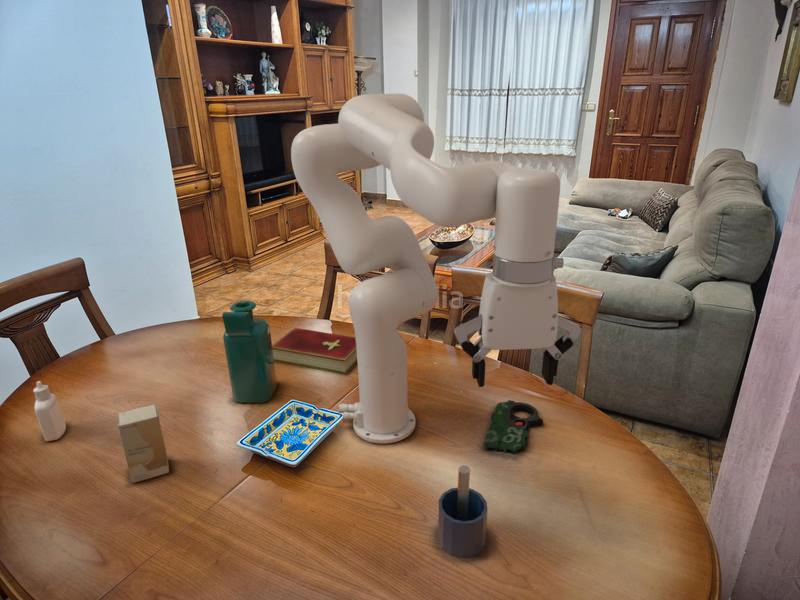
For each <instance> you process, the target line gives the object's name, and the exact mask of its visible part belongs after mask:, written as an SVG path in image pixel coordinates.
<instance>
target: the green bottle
mask: <svg viewBox="0 0 800 600" xmlns="http://www.w3.org/2000/svg"><path fill="white" fill-rule="evenodd" d="M256 307H257V303H256V302H255V301H251V300H241V301H236V302H234V303H232V304H231V305H230V306H229V310H230V311H224V312H222V320H223V321H222V322H223V326H224V330H225V331H224V333H223V336H222V338H223V345H224V351H225V357H226V363H227V364H226V365H227V369H228V375H229V380H230V385H231V392H232V399H233V400H234V401H235V402H236V403H240V404H245V403H247V404H248V403H249V404H251V403H252V404H256V403H257V404H263V403H266V402H269V400H271V399H272V397H273V395H274V392H275V390H276V389H277V386H278V381H277V375H276V365H275V361H274V357H273V349H272V344H273V342H272V334H271V327H270V324H269V322H268V321H267V320H266V319H263V318H255V317H254V309H256Z"/></svg>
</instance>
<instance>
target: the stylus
mask: <svg viewBox="0 0 800 600" xmlns="http://www.w3.org/2000/svg"><path fill="white" fill-rule="evenodd" d="M457 471H458V473H457V487H458V499H457V520H460V521H468V502H469V488H470V478H471V477H470V476H471V468H470V467H469V466H468V465H464V464H463V465H460V466H459V467H458V470H457Z"/></svg>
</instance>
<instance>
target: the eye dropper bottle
mask: <svg viewBox="0 0 800 600" xmlns="http://www.w3.org/2000/svg"><path fill="white" fill-rule="evenodd" d="M32 390H33V391H32V392H33V395H34V397H35V402H34V405H33V406H34V413H35V415H36V419H37V421H38V424H39V427H40V430H41V432H42V435H43V438H44V440H45V442H52V441H56V440H59V439H60V438H61V437H62V436H63V435H64V434H65V432H66V430H67V424H66V422H65V419H64V416H63V412H62V409H61V407H60V403H59V401H58V397H57V396H56V394H55V393H51V392H50V388H49V385H48V384H43V382H42V381H41V380H38V381H36V386H35V387H34V388H33V389H32Z"/></svg>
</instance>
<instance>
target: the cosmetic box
mask: <svg viewBox="0 0 800 600" xmlns="http://www.w3.org/2000/svg"><path fill="white" fill-rule="evenodd" d="M158 409H159V408H158V404H157V403H156V404H151V405H147V406H143V407H142V406H141V407H137V408H133V409H130V410H126V411H122V412H118V413H117V426H118V430H119V435H120V440H121V444H122V448H123V452H124V455H125V459H126V463H127V467H128V472H129V477H130V481H131V483H132V484H135V483H138V482H141V481H146V480H149V479H152V478H155V477H158V476H162V475H166V474H168V473H170V465H169V459H168V454H167V448H166V445H165V440H164V434H163V430H162V429H163V428H162V424H161V419H160V415H159V410H158Z"/></svg>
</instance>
